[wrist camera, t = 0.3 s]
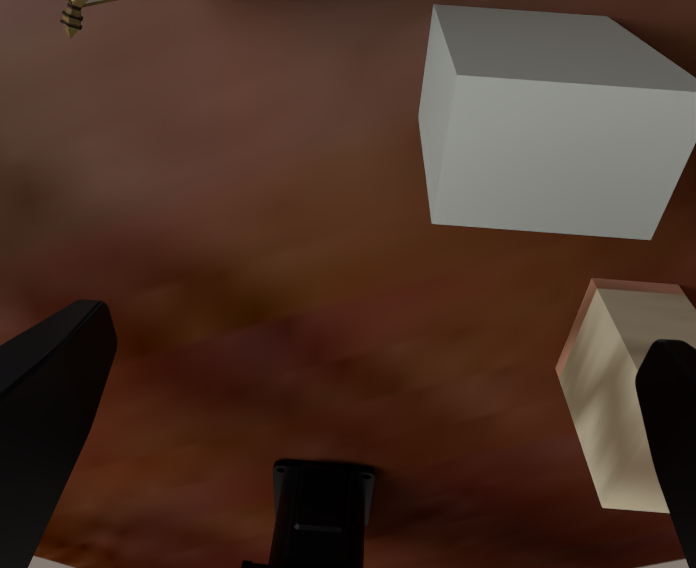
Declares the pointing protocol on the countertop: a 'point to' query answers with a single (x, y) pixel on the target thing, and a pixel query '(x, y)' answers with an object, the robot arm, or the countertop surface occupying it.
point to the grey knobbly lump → (76, 14)
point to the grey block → (551, 123)
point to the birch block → (619, 382)
